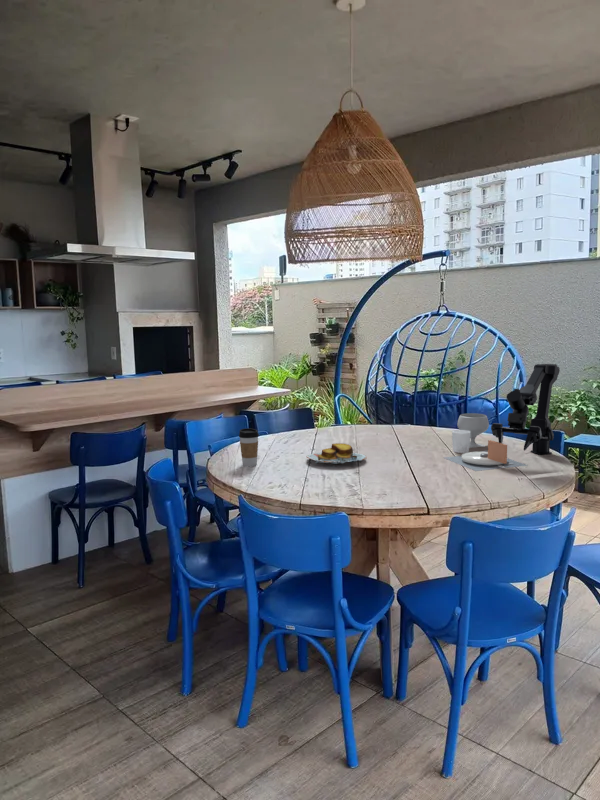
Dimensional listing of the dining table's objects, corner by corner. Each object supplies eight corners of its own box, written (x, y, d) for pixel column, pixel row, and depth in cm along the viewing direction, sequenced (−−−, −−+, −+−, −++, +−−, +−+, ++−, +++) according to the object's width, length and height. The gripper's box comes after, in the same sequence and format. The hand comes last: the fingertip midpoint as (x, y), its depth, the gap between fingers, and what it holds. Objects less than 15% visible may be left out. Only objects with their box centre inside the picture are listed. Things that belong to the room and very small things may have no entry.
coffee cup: (250, 461, 265) (249, 427, 263) (263, 464, 259) (262, 429, 257) (235, 465, 259) (234, 430, 257) (248, 468, 253) (247, 432, 251)
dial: (507, 456, 258) (507, 435, 257) (507, 467, 240) (507, 445, 239) (463, 453, 264) (463, 433, 263) (459, 464, 246) (460, 443, 245)
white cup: (470, 456, 268) (471, 433, 266) (452, 455, 269) (452, 433, 268) (469, 452, 275) (469, 430, 274) (451, 451, 277) (451, 429, 275)
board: (491, 455, 268) (491, 452, 268) (527, 468, 245) (527, 464, 245) (442, 460, 261) (442, 457, 260) (475, 474, 238) (475, 470, 238)
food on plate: (295, 463, 261) (294, 448, 261) (329, 452, 281) (329, 438, 280) (344, 472, 246) (344, 456, 245) (377, 460, 265) (377, 445, 264)
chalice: (465, 442, 294) (466, 411, 292) (493, 446, 285) (494, 414, 283) (451, 448, 284) (452, 415, 282) (480, 452, 275) (480, 419, 272)
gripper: (492, 403, 249) (484, 435, 241) (541, 406, 239) (534, 439, 231) (497, 419, 257) (489, 450, 249) (544, 423, 247) (537, 455, 239)
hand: (512, 448), depth 242 cm, fingers open, 9 cm apart
